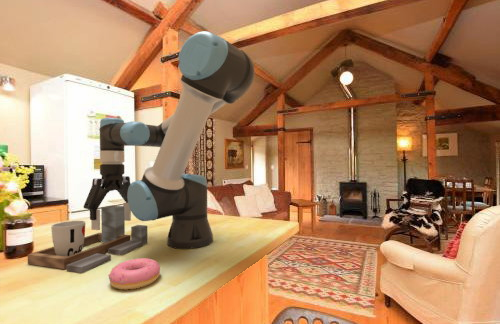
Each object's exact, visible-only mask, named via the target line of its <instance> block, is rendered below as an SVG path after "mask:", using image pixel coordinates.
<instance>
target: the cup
mask: <svg viewBox="0 0 500 324" xmlns="http://www.w3.org/2000/svg"><path fill="white" fill-rule="evenodd" d="M85 235H86V221H84V220H69V221H62V222H58V223H53V224H52V225H51V239H52V245H53V247H54V249H55V253H56V255H57V256H65V257H67V256H70V255H73V254H76V253H79V252H81V251H83V248H84V246H83V243H84V237H86V236H85Z"/></svg>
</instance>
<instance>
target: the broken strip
mask: <svg viewBox="0 0 500 324" xmlns="http://www.w3.org/2000/svg"><path fill="white" fill-rule="evenodd" d="M130 232H131V233H130V234H131V235H130V241H127V242H125V243H122V244H120V245H117V246H114V247H112V248H109V249H108V252H107V254H106V253H103V254H98V253H96V254H94V255H91V256H89V257H86V258H84V259H81V260H78V261H76V262H73V263H71V264H68V265H67V268H66V272H71V273H78V274H83V273H85V272H87V271H89V270H92V269H94V268H97V267H99V266H101V265H104V264H106V263H108V262H110V261H111V260H112V256H111V255H116V256H124V255H126V254H129V253H131V252H133V251H135V250H137V249H140V248H142V247H143V246H144V245H147V244H148V243H149V242H148V225H145V224H144V225H143V224H136V225H133V226H131V228H130Z"/></svg>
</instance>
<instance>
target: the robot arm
mask: <svg viewBox="0 0 500 324" xmlns="http://www.w3.org/2000/svg"><path fill="white" fill-rule="evenodd" d="M177 59H178V61H177V62H178V69H179V70H180V72H181V74H182V75H181V78H180V83H181V85H182V89H183V90H182V92H181V95H180V97H179V101H178V102H177V105H176V107H175V110H174V112H173V114H171V115H170V116H169V117H168V118H166V119H165V120H164V121H162V122H161V123H160V124H158V125H154V124H152V125H151V124H147V123H146V124H145V123H144V122H141V121H128V122H125V121H124V120H123V119H122V118H117V117H102V118H101V119H100V120H99V129H98V130H99V163H101V164H100V165H99V175H101V178H96V177H95V178H93V179H92V183H91V188H90V190H89V193H88V195H87V196H86V200H85V202H84V204H83V209H86V210H89V220H90V221H91V223H90V224H91V225H90V226H91V230H92V231H99V230H101V208H100V209H99V207H100V206H101V204H102V202H103V201H104V199H105V197H106V196H107V194H108V193H110V192H114V191H117V192H118V193H119V196H120V197H121V198H122V199H123V201H124V202H123V204H122V206H124V216H125V222H127V221H128V222H130V221H131V220H132V215H133V217H135V218H136V219H137V220H139V221H142V222H149V221H150V222H151V221H156V220H159V219H163V218H169V217H172V219H171V220H172V221H171V224H170V227H169V230H168V234H167V237H166V238H167V242H166V244H167V247H170V248H172V249H183V250H185V249H186V250H187V249H188V250H189V249H196V248H202V247H206V246H208V245H210V244H212V243H213V241H214V237H213V236H214V235H213V234H214V233H213V231H212V228H211V225H210V221H209V220H208V188H209V187H208V180H207V178H206V176H204V175H200V174H190V173H185V172H186V171H185V170H186V168H187V167H188V165H189V163H190V160H191V158H192V155H193V153H194V151H195V148H196V146H197V143H198V141H199V140H200V137H201V136H202V132H203V130H204V127H205V126H206V123H207V121H208V119H209V117H210V115H211V116H212V115H213V114H214V113H215V112H217V111H218V110H219V109H220V108H223V107H224V106H225V105H227V104H228V105H232V104H234V103H235V102H236V101H238V100H239V99H240V98H241V99H242V97H243V96H244V95H245V94H246V93H247V92H248V91H249V89H250V88H251V87H252V85H253V82H254V80H255V74H256V73H255V66H254V62H253V60H252V58H251V57H250V56H249V55H248V54H247V53H246V52H245V51H243V50H241V49H240V48H238V47H237V46H235V45H234V44H232V43H230V42H229V41H228V40H226V39H225V38H223V37H222V36H220V35H217V34H215V33H213V32H211V31H207V30H206V31H198V32H196V33H195V34H192V35H191V36H189V37H188V38H187V39H186V40H185V42H184V43H183V45H182V46H181V48H180V50H179V54H178V58H177ZM126 146H128V147H129V146H134V147H153V148H159V151H158V153H157V155H156V158H155V160H154V162H153V166H150V167H148V168H146V169H145V170H144V172H143V175H142V178H141V180H139V179H137V180H135V181H133V182H131V179H130V176H125V164H124V162H125V147H126Z"/></svg>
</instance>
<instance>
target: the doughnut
mask: <svg viewBox="0 0 500 324" xmlns="http://www.w3.org/2000/svg"><path fill="white" fill-rule="evenodd" d="M160 272H161V266H160V264H159V263H158V260H157V261H156V260H154V258H147V257H145V258H142V257H140V258H133V259H129V260H125V261H122V262H120V263H118V264H117V265H115V266H114V267H112V268H111V270H110V273H109V274H108V276H107V277H108V280H109V284H110V285H111V286H112V287H113V288H115V289H117V290H122V289H124V290H125V291H126V290H128V289H131V290H136V288H137V289H140V287H141V288H144V287H147V286H149V285H151V284H153V283H154V282H155V281H156V280H157V279H158V278H159V276H160ZM124 290H123V291H124ZM128 291H129V290H128Z"/></svg>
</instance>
